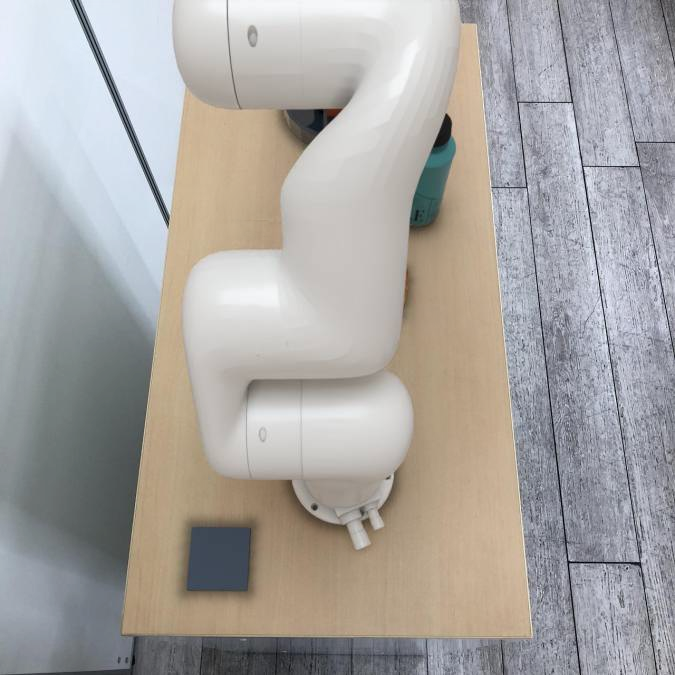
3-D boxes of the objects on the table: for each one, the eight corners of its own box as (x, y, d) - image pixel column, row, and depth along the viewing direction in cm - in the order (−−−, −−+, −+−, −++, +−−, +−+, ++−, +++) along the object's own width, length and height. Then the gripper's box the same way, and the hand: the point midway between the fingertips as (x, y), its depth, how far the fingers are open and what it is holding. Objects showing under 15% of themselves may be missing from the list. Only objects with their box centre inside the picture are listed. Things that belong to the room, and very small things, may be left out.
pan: (414, 133, 96) (417, 117, 93) (308, 169, 94) (307, 154, 90) (369, 51, 102) (370, 34, 98) (268, 84, 99) (265, 67, 96)
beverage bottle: (439, 196, 92) (465, 99, 73) (437, 236, 90) (463, 146, 71) (395, 192, 92) (409, 95, 74) (391, 232, 90) (406, 141, 71)
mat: (247, 590, 73) (246, 590, 73) (187, 589, 73) (186, 590, 73) (250, 527, 75) (250, 527, 75) (192, 527, 75) (191, 526, 75)
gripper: (272, 27, 79) (283, 124, 96) (408, 26, 79) (396, 124, 96) (273, -17, 81) (285, 85, 98) (406, -18, 81) (394, 85, 98)
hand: (339, 103), depth 97 cm, fingers open, 5 cm apart
